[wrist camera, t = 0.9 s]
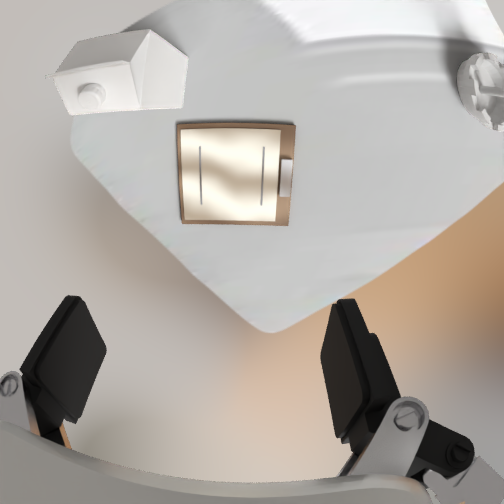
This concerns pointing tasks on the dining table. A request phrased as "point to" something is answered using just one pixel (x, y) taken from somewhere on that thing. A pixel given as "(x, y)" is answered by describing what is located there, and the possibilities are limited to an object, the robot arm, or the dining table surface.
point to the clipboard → (235, 173)
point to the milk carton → (122, 74)
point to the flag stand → (483, 89)
